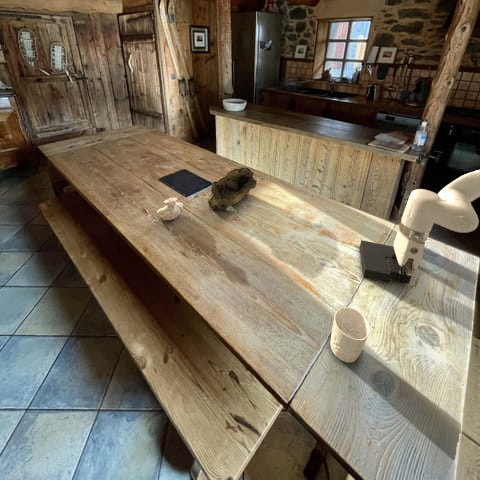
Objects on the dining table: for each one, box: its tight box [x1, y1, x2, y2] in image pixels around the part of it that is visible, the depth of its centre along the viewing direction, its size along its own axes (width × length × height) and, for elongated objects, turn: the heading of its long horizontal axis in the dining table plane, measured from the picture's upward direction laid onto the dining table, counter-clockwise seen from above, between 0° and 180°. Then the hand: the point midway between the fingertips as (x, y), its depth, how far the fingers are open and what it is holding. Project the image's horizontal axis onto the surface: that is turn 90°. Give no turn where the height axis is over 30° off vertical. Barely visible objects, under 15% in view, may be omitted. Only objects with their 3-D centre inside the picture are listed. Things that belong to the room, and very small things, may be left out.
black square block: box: [386, 257, 413, 285], centre depth 85 cm, size 6×6×4 cm
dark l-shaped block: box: [359, 239, 394, 283], centre depth 90 cm, size 14×14×4 cm
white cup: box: [329, 306, 371, 364], centre depth 64 cm, size 8×8×10 cm
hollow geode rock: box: [207, 167, 258, 211], centre depth 124 cm, size 28×13×15 cm
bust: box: [155, 196, 184, 221], centre depth 110 cm, size 12×8×11 cm
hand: (396, 272), depth 86 cm, fingers closed on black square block, 5 cm apart
